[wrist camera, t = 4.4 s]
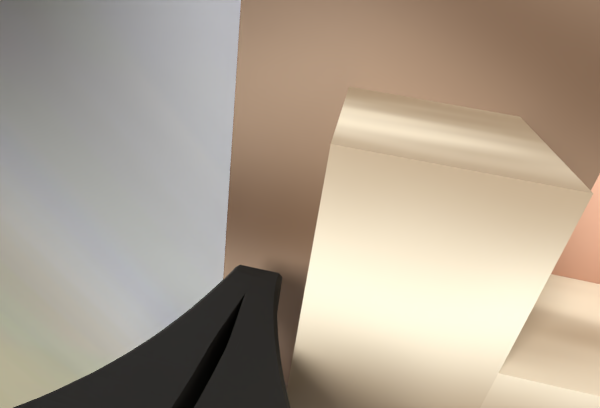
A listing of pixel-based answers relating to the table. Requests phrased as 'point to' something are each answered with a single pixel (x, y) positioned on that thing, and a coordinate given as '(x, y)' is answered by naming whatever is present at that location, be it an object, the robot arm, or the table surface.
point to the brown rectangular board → (405, 82)
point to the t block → (444, 266)
